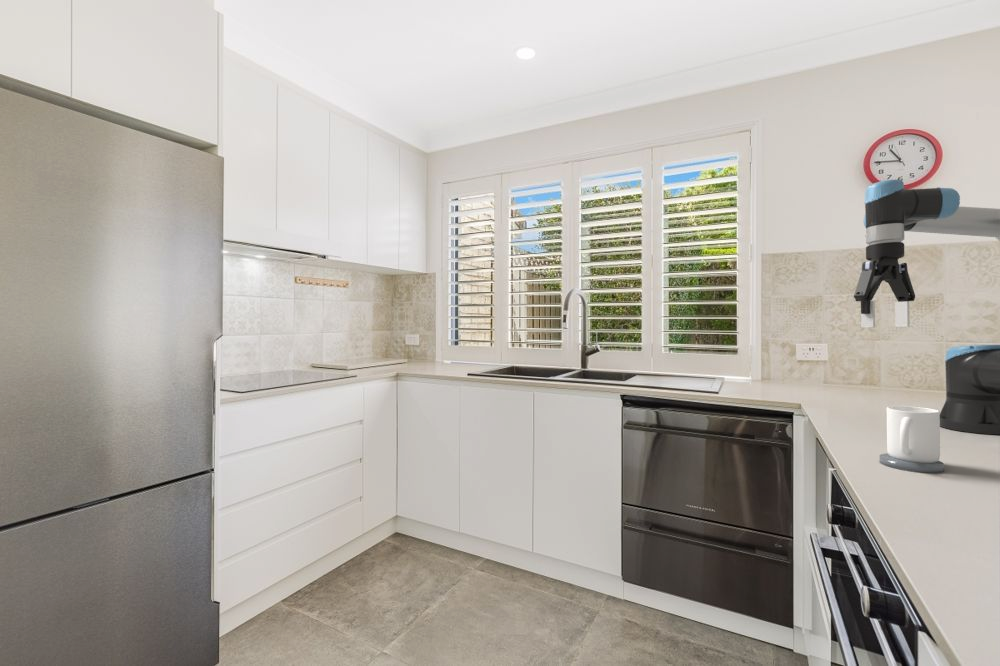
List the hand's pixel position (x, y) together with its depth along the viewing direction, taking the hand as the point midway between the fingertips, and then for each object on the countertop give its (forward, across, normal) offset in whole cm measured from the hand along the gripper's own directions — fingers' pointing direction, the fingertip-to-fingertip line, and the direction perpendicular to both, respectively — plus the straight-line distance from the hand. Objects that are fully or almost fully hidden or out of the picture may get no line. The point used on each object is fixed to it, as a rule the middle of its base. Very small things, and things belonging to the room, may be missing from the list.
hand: (885, 327), depth 117 cm
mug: (+28, +20, +16) cm, 38 cm away
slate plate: (+29, +20, +16) cm, 38 cm away
